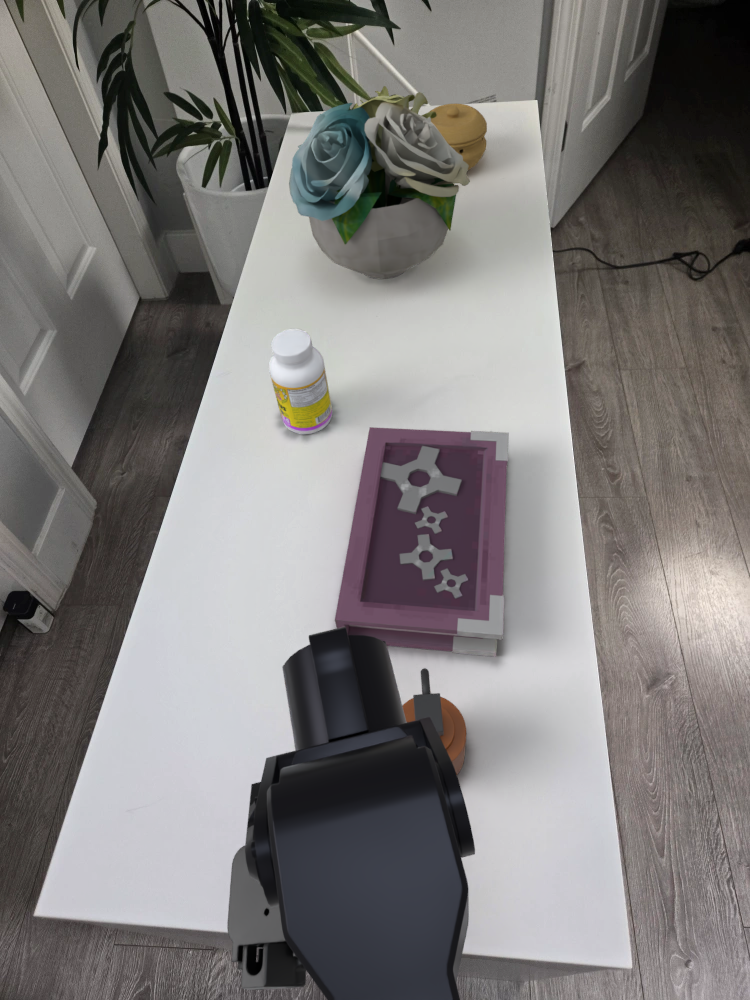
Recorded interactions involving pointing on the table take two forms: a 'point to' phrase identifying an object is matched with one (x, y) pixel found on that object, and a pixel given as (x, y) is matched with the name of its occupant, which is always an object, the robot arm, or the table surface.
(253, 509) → the table surface
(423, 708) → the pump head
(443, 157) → the flower arrangement
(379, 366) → the table surface
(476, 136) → the pot
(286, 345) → the supplement bottle
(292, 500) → the table surface
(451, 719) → the soap bottle
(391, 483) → the book
